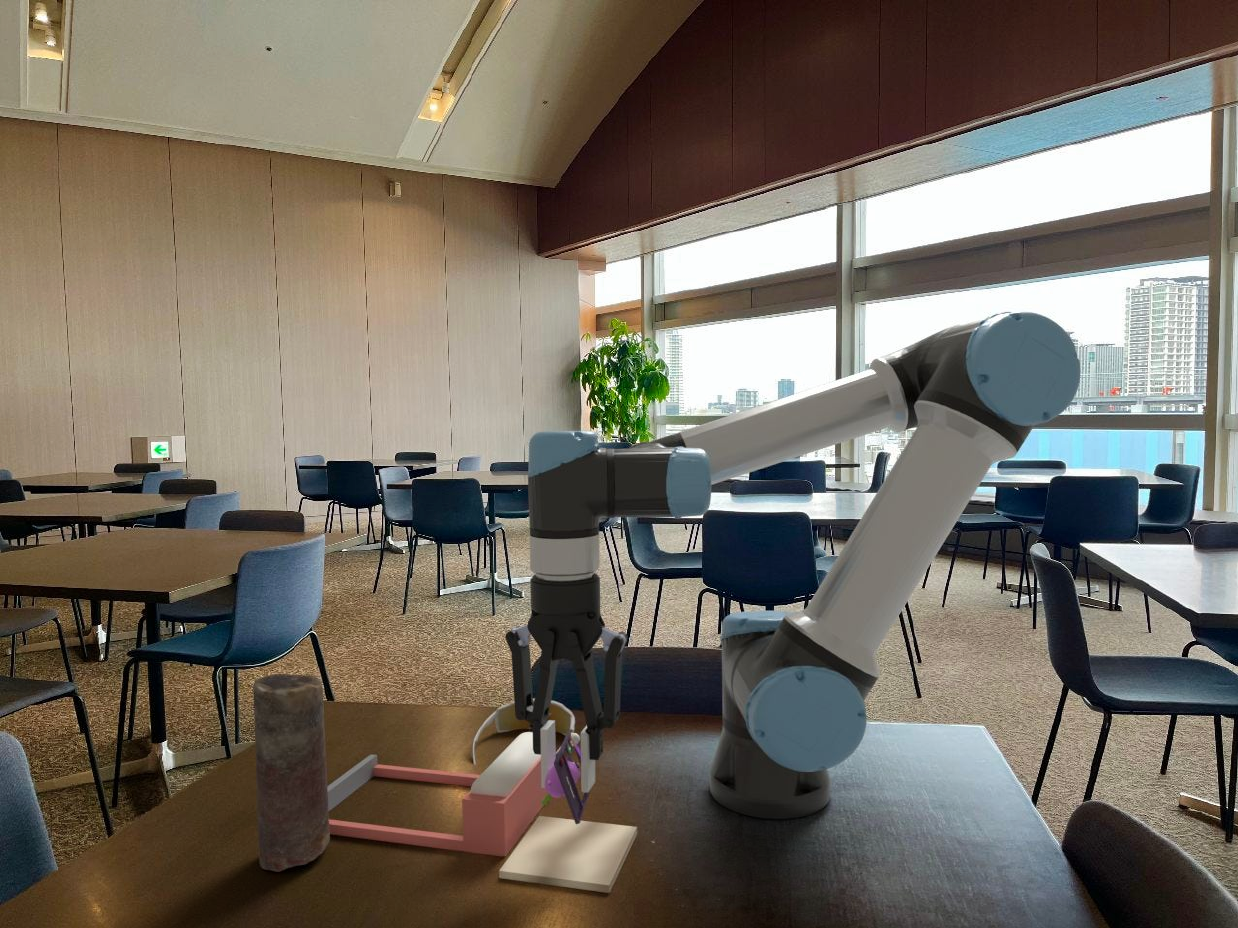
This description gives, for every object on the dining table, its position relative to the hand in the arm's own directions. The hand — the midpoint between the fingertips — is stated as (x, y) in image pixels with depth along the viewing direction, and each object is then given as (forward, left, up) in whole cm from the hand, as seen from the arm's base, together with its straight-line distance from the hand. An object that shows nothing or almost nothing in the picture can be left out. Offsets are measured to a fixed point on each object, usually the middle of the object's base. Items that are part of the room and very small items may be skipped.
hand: (568, 784), depth 89 cm
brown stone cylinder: (+30, +7, -8) cm, 32 cm away
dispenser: (+20, -6, -8) cm, 22 cm away
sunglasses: (+16, -27, -9) cm, 32 cm away
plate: (0, 0, -8) cm, 8 cm away
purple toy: (0, +2, -1) cm, 3 cm away
